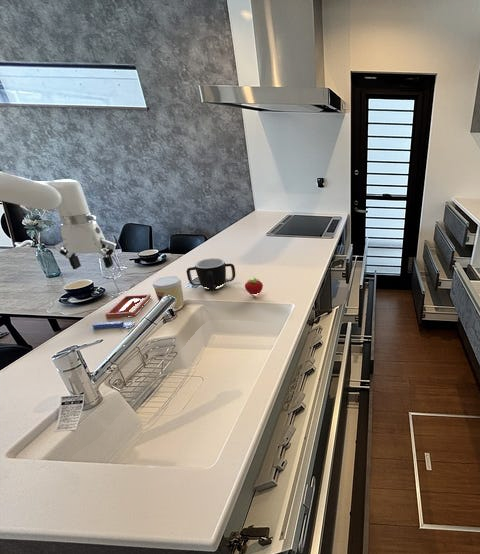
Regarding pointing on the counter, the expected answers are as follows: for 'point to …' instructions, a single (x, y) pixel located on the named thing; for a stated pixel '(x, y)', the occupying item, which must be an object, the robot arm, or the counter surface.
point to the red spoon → (129, 305)
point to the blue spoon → (111, 325)
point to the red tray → (115, 310)
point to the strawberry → (254, 286)
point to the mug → (211, 273)
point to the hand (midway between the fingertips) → (93, 267)
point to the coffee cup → (169, 289)
